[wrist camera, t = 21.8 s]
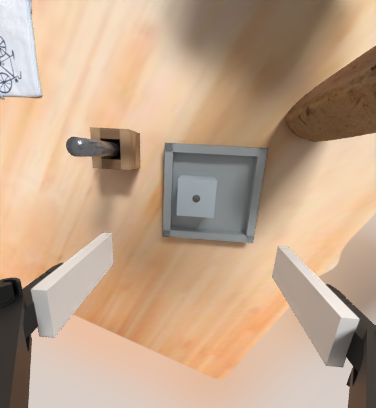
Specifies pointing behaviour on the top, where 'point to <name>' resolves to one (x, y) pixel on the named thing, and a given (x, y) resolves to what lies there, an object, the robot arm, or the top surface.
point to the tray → (225, 192)
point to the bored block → (127, 148)
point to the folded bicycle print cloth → (18, 51)
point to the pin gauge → (92, 147)
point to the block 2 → (339, 104)
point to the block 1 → (196, 196)
